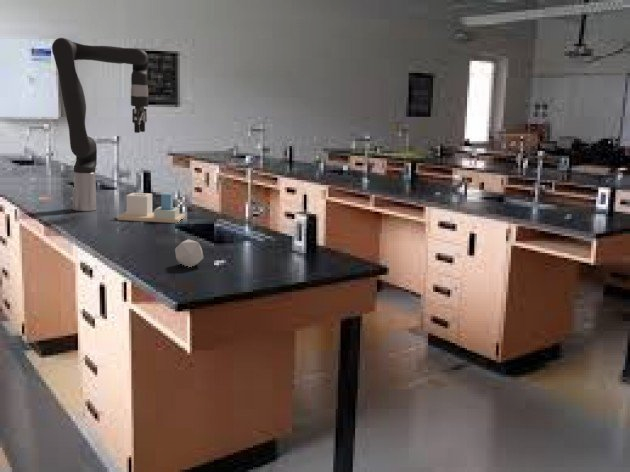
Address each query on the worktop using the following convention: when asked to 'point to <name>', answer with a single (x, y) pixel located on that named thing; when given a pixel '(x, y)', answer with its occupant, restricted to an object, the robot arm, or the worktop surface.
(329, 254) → the worktop surface
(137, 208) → the stepped block tray
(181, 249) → the grey faceted polyhedron
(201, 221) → the worktop surface
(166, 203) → the plug
